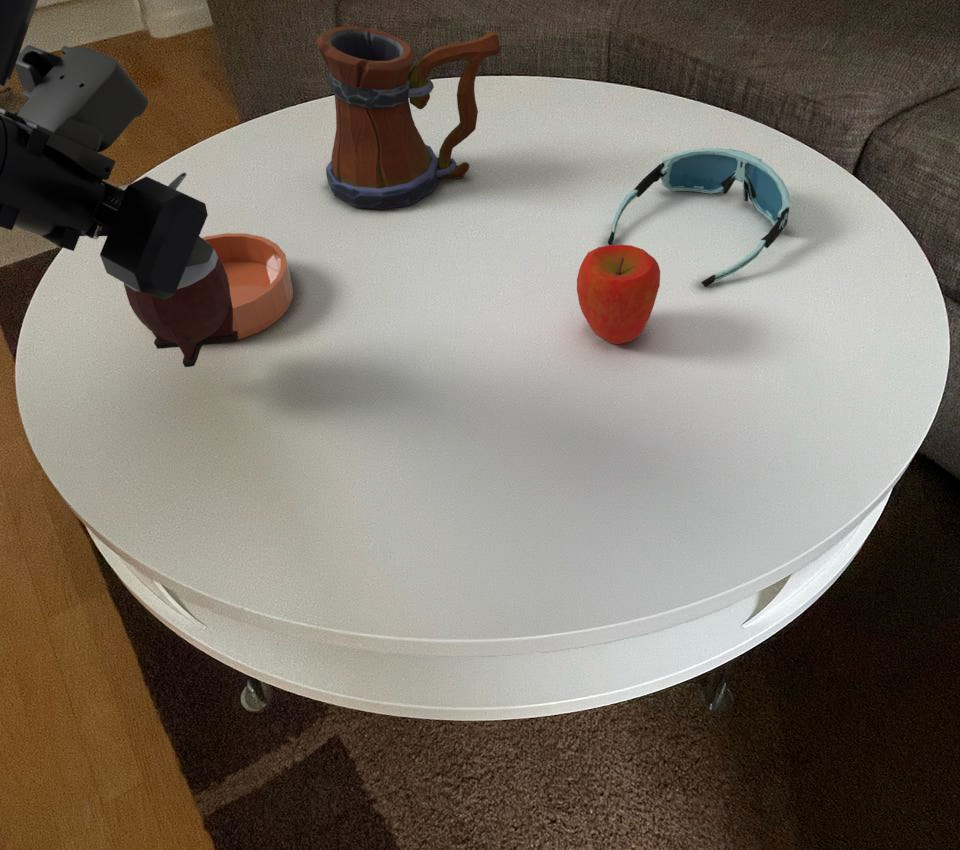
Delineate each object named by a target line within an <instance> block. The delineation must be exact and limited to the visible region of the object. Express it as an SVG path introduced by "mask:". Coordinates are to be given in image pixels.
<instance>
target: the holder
mask: <svg viewBox="0 0 960 850" xmlns="http://www.w3.org/2000/svg"><path fill="white" fill-rule="evenodd" d="M201 238H202V239H204V240H205V241H206V242H208V243H209V244H210V245H211V246H212V247H213V248H214V250H215V252H216V254H217V256H218V258H219V259H220V261H221V263H222V265H223V267H224V269H225V272H226V274H227V277H228V282H229V287H230V296H231V301H232V306H233V331H238V340H242V339H245V338H248V337H251V336H254V335H256V334H258V333H261V332H262V331H264V330H266V329H268V328H269V327H271V326H272V325H273V324H275V323H276V322H278V321H279V319H281V318H282V317H283V315H285V313H286V312H287V311H288V310H289V308H290V306H291V304H292V301H293V296H294V289H293V288H294V287H293V284H292V278H291V273H290V269H289V265H288V260H287V255H286V253H285V252H284V251H283V250H282V248H281V247H280V246H279V245H278V244H277V243H276V242H274V241H272V240H270V239H268V238H266V237H264V236H259V235H255V234H250V233H243V232H242V233H240V232H239V233H237V232H233V233H232V232H229V233H228V232H226V233H218V234H214V235H213V234H212V235H207V236H203V237H201Z"/></svg>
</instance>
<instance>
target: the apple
mask: <svg viewBox="0 0 960 850" xmlns="http://www.w3.org/2000/svg"><path fill="white" fill-rule="evenodd" d="M582 260H583V261H582V262H581V264H580V266H579V269H578V274H577V277H576V294H577V299H578V304H579V307H580V310H581V313H582V315H583V316H584V318H585V320H586V322H587V323H588V325H589V327H590V328H591V329H592V331H593V332H594V334H595V335H596V336H598V337H599V338H600V339H602V340H604V341H606V342H608V343H611V344H616V345H621V344H626V343H629V342H632V341H633V340H635V339H637V338H638V337H639V336H640V335H642V332H643V331H644V329H645V327H646V325H647V324H648V321H650V318H651V314H652V312H653V310H654V309H653V308H654V306H655V304H656V299H657V296H658V293H659V289H660V286H661V285H660V284H661V269H660V266H659V263H658V261H657V260H656V258H655V257H654V256H652V255H651V254H650V253H648V252H647V251H646V250H644V249H643V248H641V247H637V246H634V245H630V244H612V245H609V244H608V245H602V246H598V247H596V248H594V249H592V250H590V251H588V252H587V253H586V255H585V256H584V258H583V259H582Z"/></svg>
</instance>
